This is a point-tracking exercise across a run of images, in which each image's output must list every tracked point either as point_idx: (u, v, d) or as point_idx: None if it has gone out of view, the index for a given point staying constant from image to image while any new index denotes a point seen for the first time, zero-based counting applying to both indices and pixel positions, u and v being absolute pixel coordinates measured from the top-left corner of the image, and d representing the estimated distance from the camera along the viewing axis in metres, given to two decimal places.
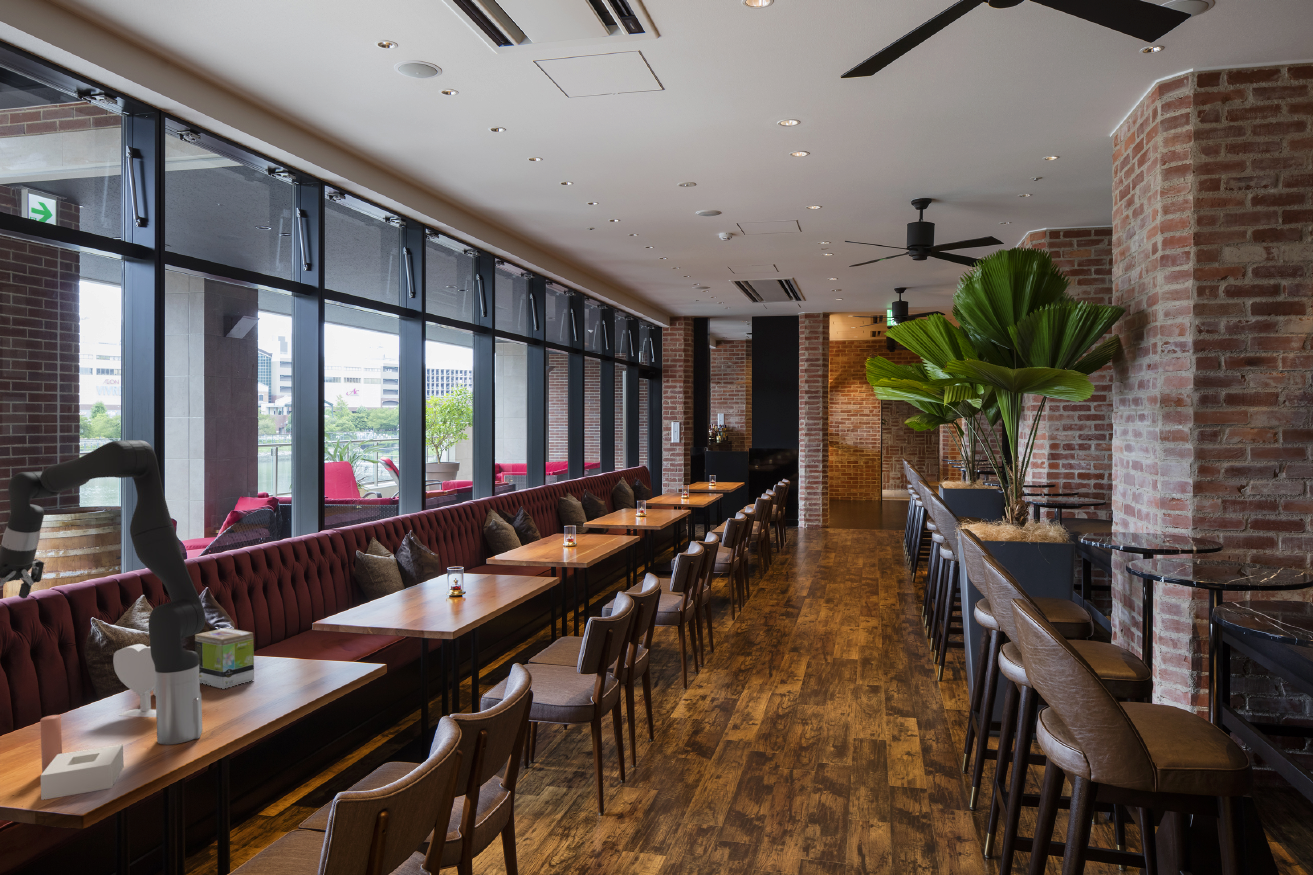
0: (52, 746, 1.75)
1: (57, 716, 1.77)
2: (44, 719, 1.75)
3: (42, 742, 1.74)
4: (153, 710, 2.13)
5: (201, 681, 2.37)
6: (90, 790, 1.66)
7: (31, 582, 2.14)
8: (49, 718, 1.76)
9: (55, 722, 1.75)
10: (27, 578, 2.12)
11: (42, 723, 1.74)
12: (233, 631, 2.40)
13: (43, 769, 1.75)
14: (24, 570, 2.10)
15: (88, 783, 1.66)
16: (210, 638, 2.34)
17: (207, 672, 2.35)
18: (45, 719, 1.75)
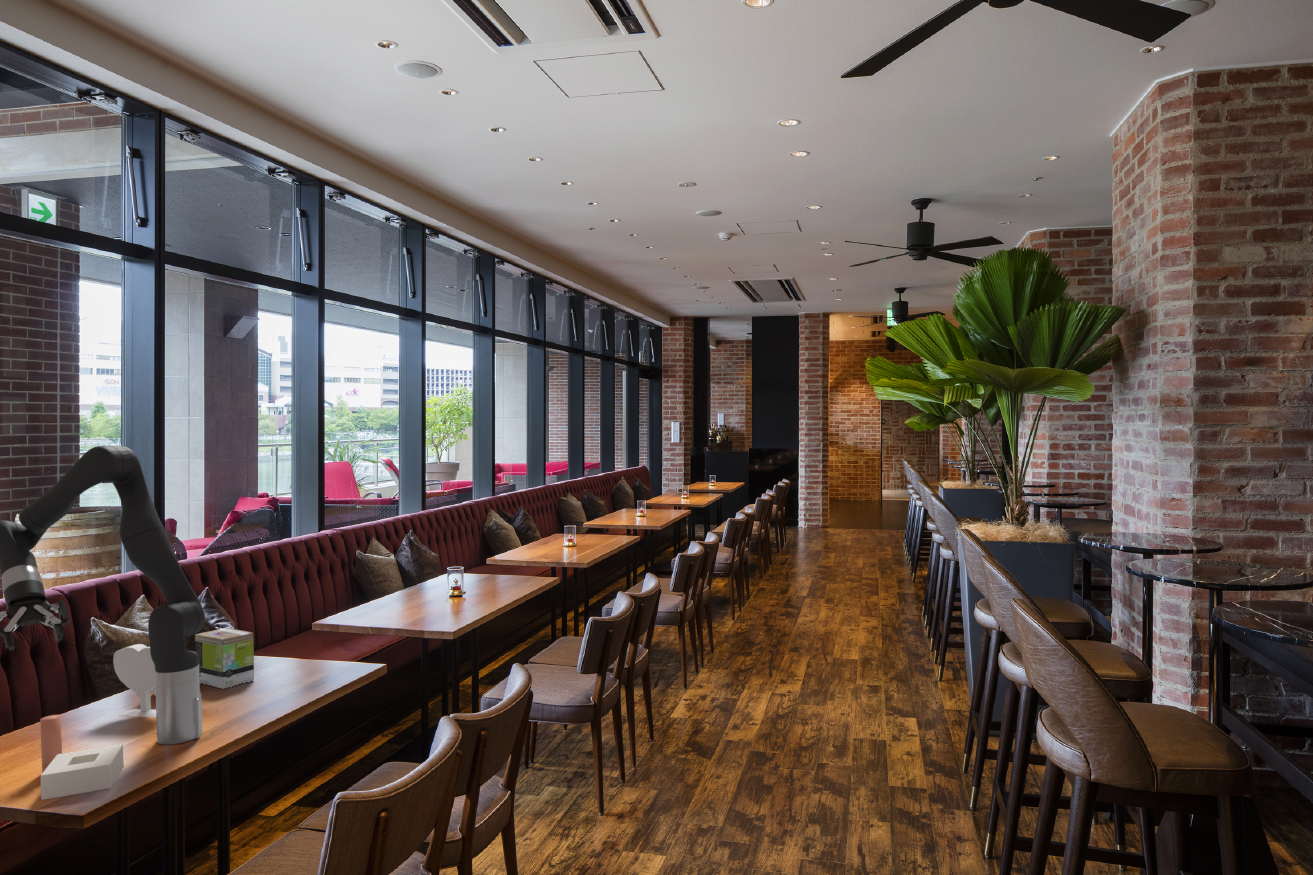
0: (52, 746, 1.75)
1: (57, 716, 1.77)
2: (44, 719, 1.75)
3: (42, 742, 1.74)
4: (153, 710, 2.13)
5: (201, 681, 2.37)
6: (90, 790, 1.66)
7: (57, 620, 1.89)
8: (49, 718, 1.76)
9: (55, 722, 1.75)
10: (47, 614, 1.88)
11: (42, 723, 1.74)
12: (233, 631, 2.41)
13: (43, 769, 1.75)
14: (37, 605, 1.88)
15: (88, 783, 1.66)
16: (210, 638, 2.34)
17: (207, 672, 2.35)
18: (45, 719, 1.75)
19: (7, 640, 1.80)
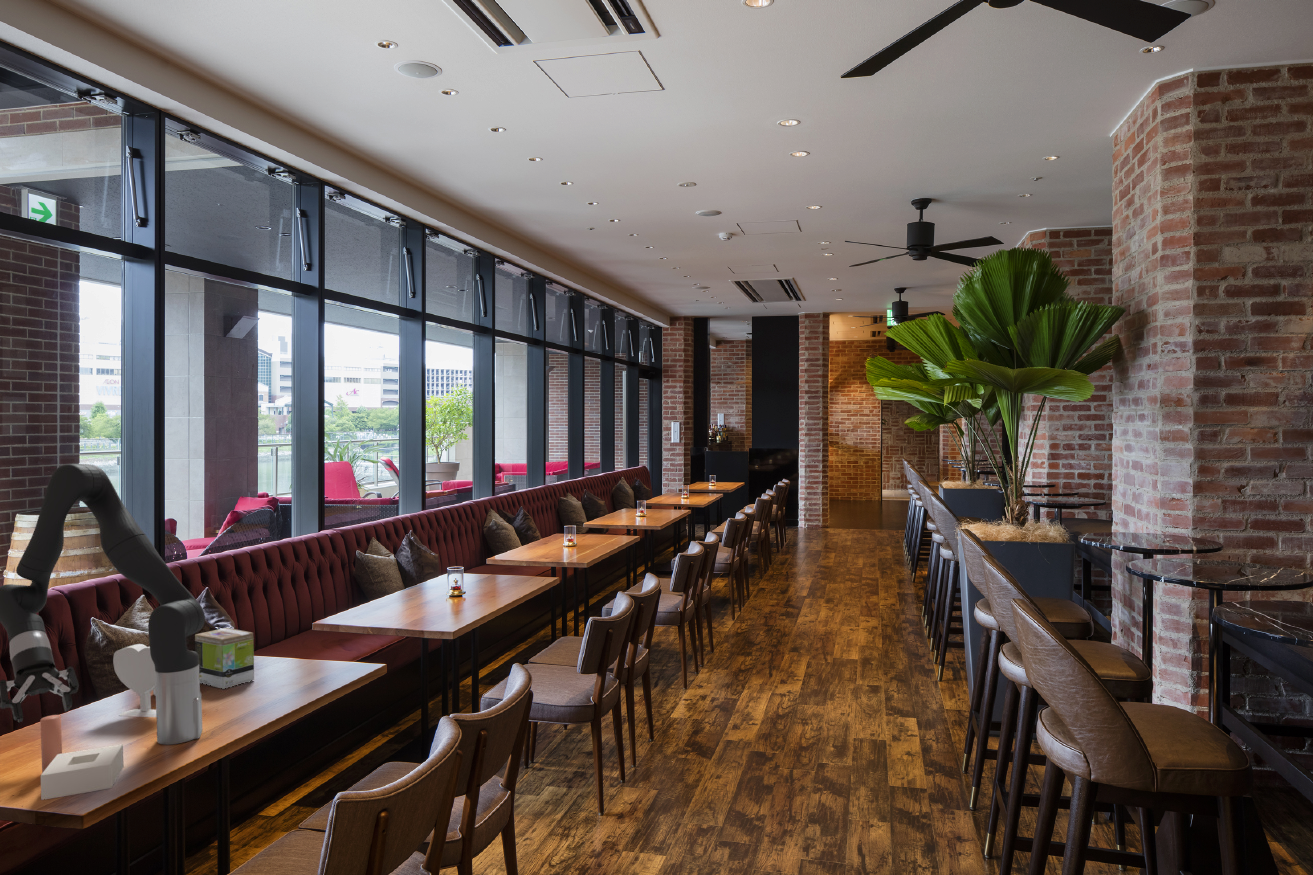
0: (52, 746, 1.75)
1: (57, 716, 1.77)
2: (44, 719, 1.75)
3: (42, 742, 1.74)
4: (153, 710, 2.13)
5: (201, 681, 2.37)
6: (90, 790, 1.66)
7: (66, 688, 1.85)
8: (49, 718, 1.76)
9: (55, 722, 1.75)
10: (56, 682, 1.84)
11: (42, 723, 1.74)
12: (233, 631, 2.41)
13: (43, 769, 1.75)
14: (46, 674, 1.84)
15: (88, 783, 1.66)
16: (210, 638, 2.34)
17: (207, 672, 2.35)
18: (45, 719, 1.75)
19: (15, 712, 1.77)
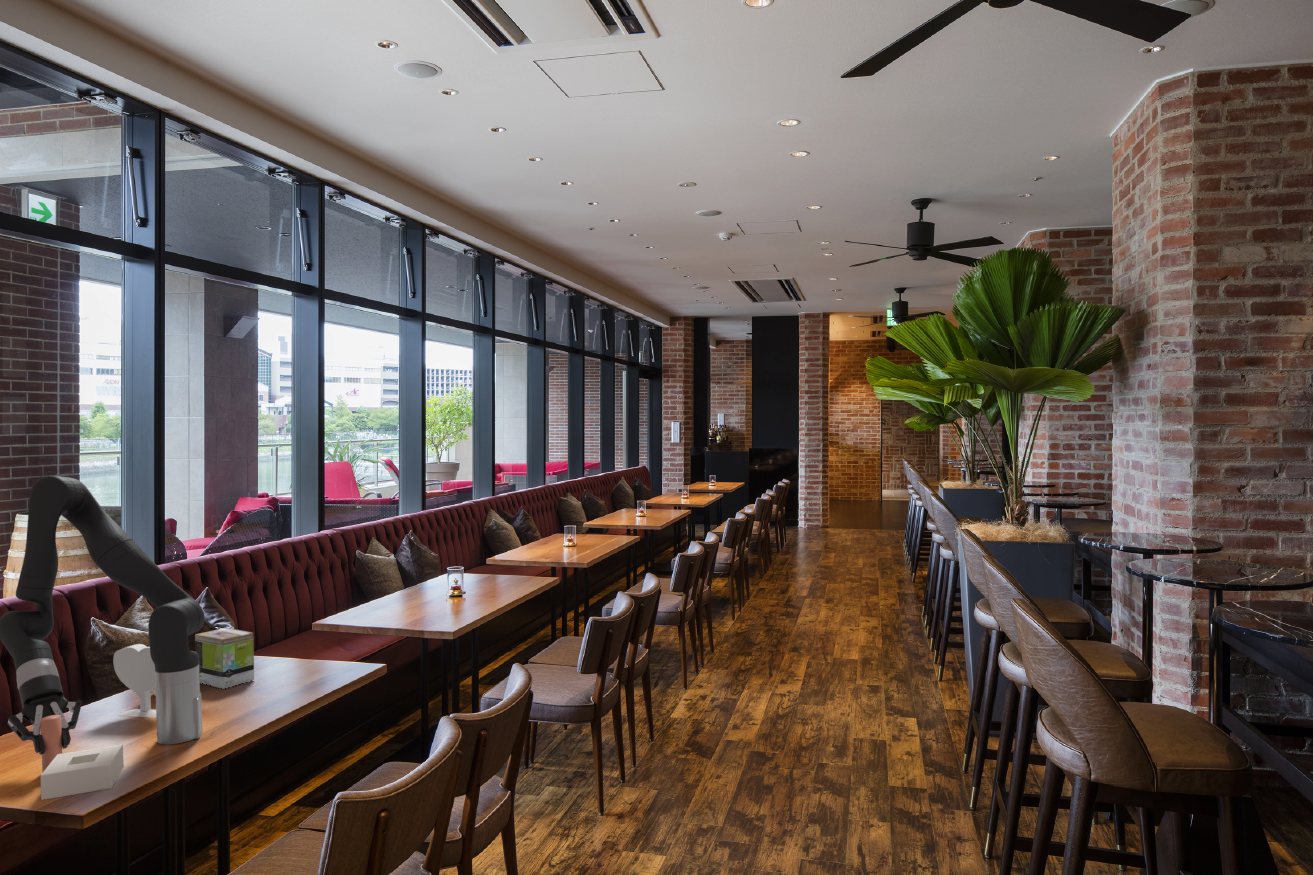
0: (53, 746, 1.75)
1: (57, 716, 1.77)
2: (44, 719, 1.75)
3: None
4: (153, 710, 2.13)
5: (201, 681, 2.37)
6: (90, 790, 1.66)
7: (64, 724, 1.78)
8: (49, 718, 1.76)
9: (55, 722, 1.75)
10: None
11: (42, 723, 1.74)
12: (233, 631, 2.41)
13: (43, 769, 1.75)
14: (54, 703, 1.80)
15: (88, 783, 1.66)
16: (210, 638, 2.34)
17: (207, 672, 2.35)
18: (45, 719, 1.75)
19: (37, 744, 1.73)
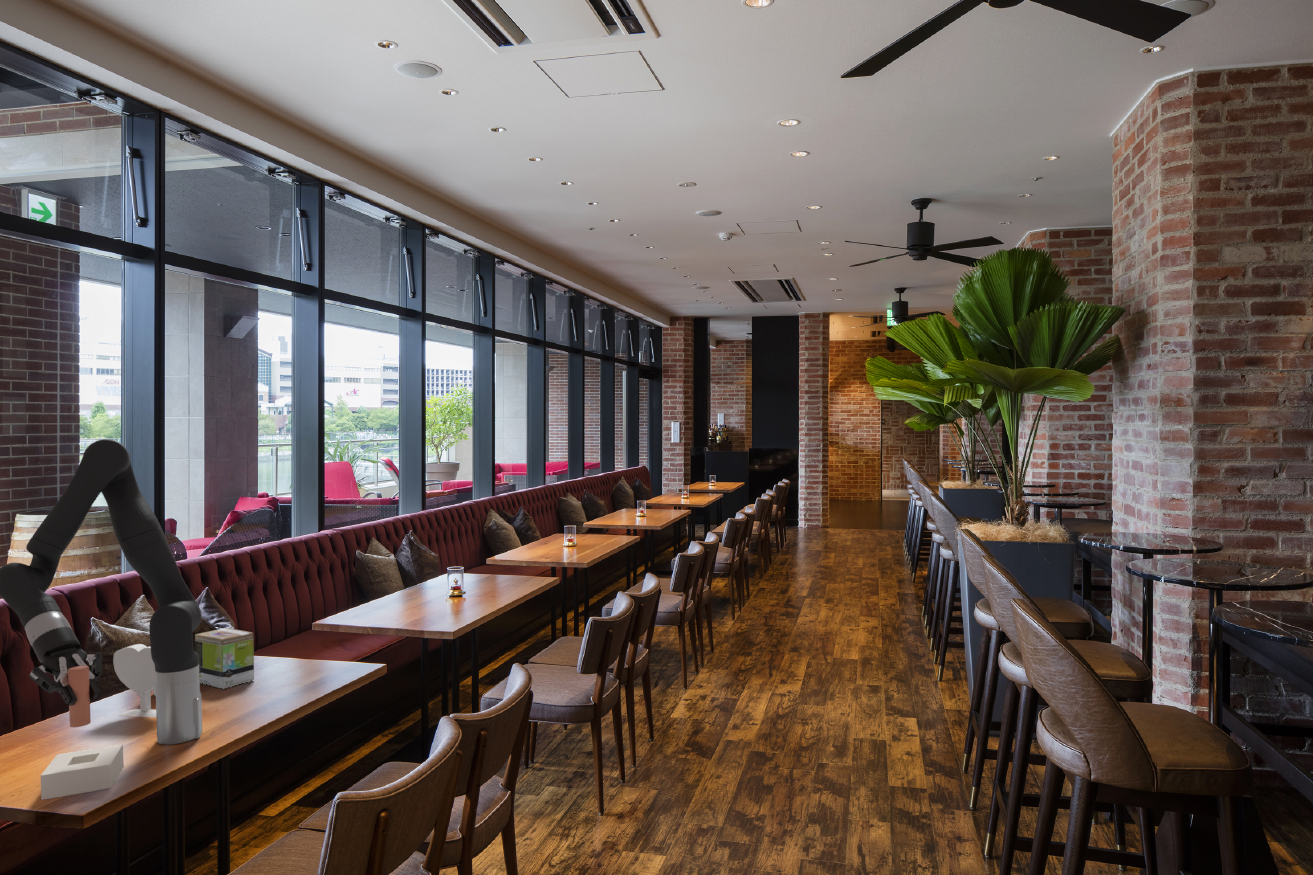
0: (83, 696, 1.69)
1: (85, 666, 1.71)
2: (72, 669, 1.69)
3: None
4: (153, 710, 2.13)
5: (201, 681, 2.37)
6: (90, 790, 1.66)
7: (90, 675, 1.73)
8: (77, 668, 1.70)
9: (85, 672, 1.70)
10: None
11: (71, 673, 1.68)
12: (233, 631, 2.41)
13: (72, 721, 1.68)
14: (76, 655, 1.73)
15: (88, 783, 1.66)
16: (210, 638, 2.34)
17: (207, 672, 2.35)
18: (74, 669, 1.69)
19: (67, 695, 1.67)
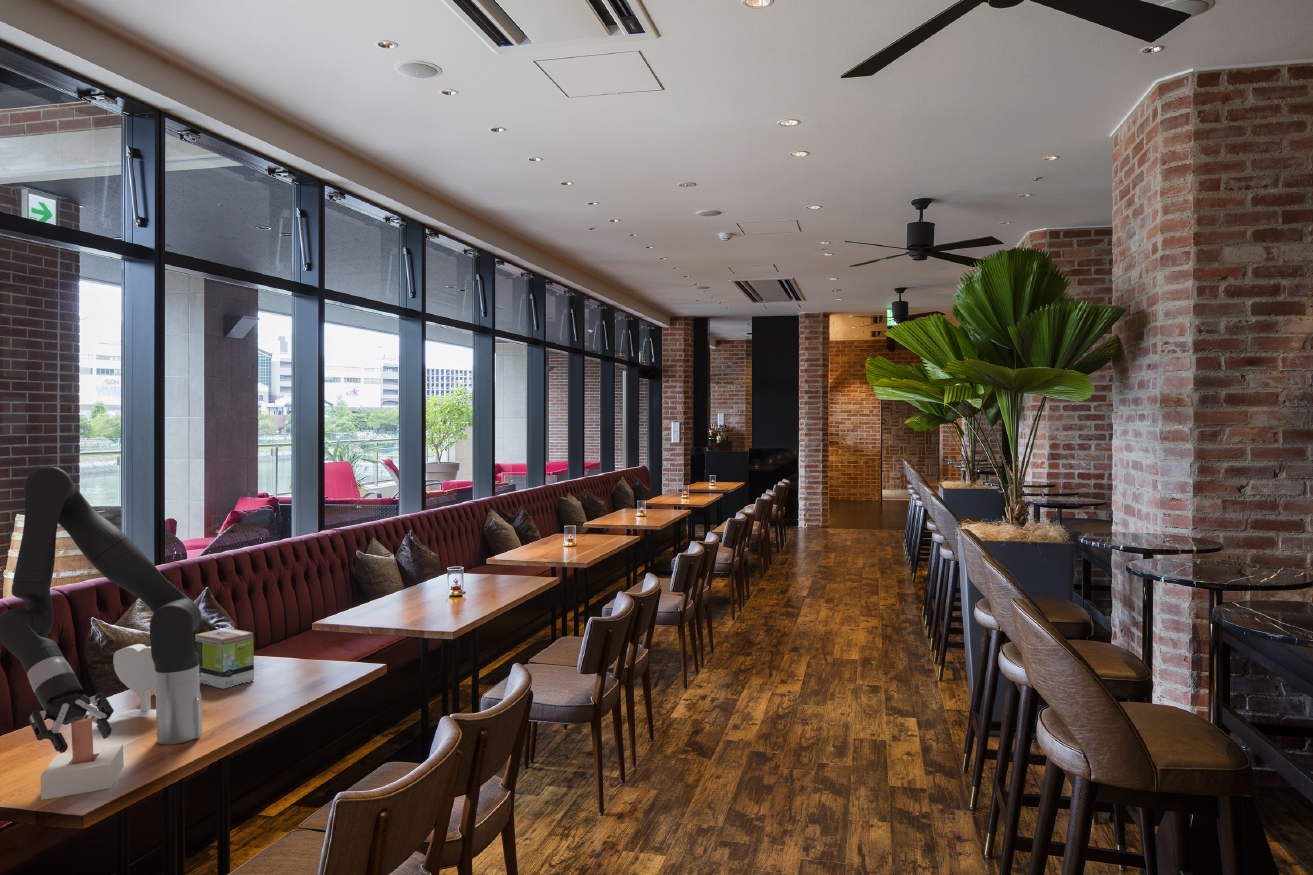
0: (86, 749, 1.69)
1: (88, 719, 1.71)
2: (76, 722, 1.69)
3: (75, 746, 1.69)
4: (153, 710, 2.13)
5: (201, 681, 2.37)
6: (90, 790, 1.66)
7: (102, 714, 1.75)
8: (81, 721, 1.70)
9: (88, 725, 1.70)
10: (91, 709, 1.74)
11: (75, 726, 1.69)
12: (233, 631, 2.41)
13: None
14: (79, 700, 1.73)
15: (88, 783, 1.66)
16: (210, 638, 2.34)
17: (207, 672, 2.35)
18: (77, 722, 1.69)
19: (58, 742, 1.65)
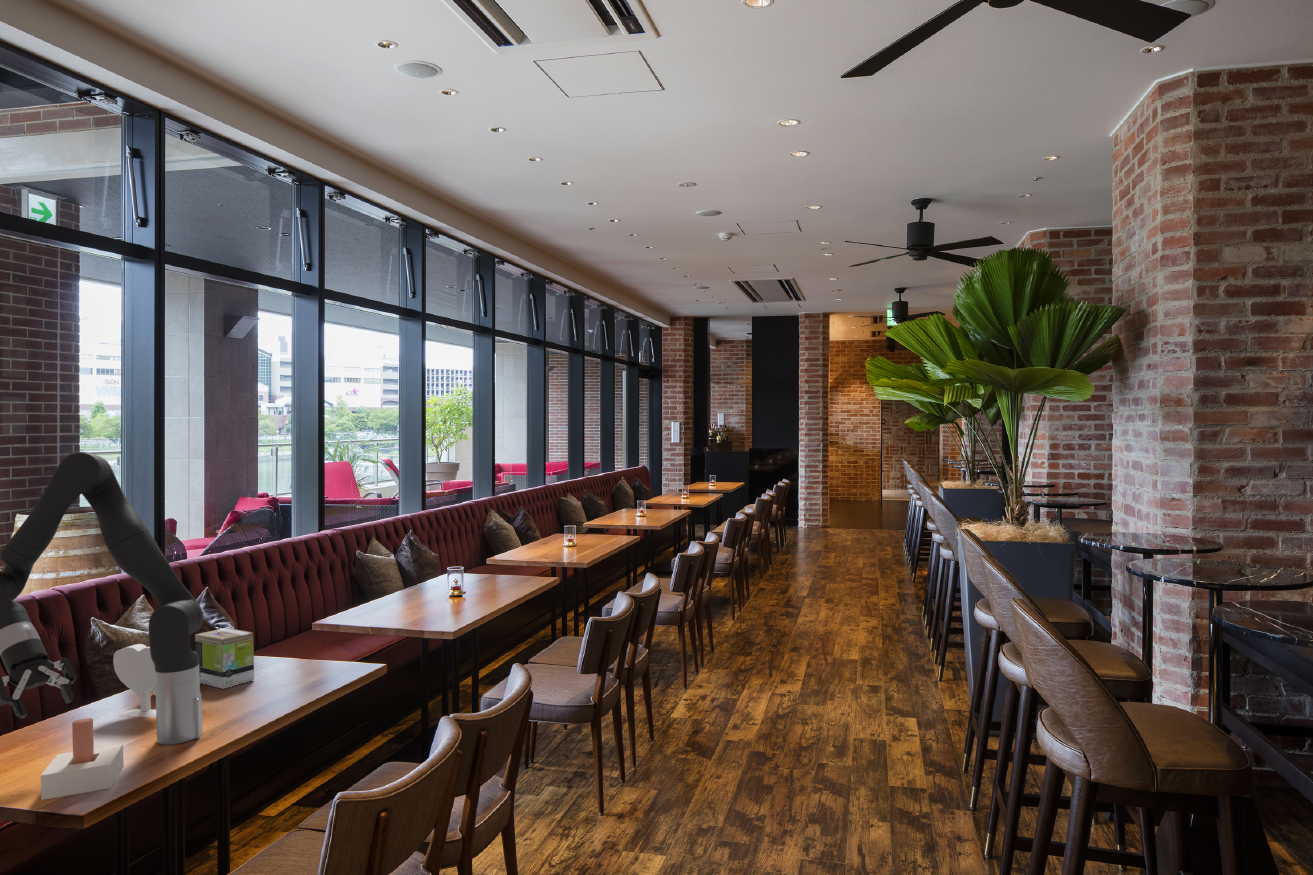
0: (87, 750, 1.69)
1: (89, 719, 1.71)
2: (77, 723, 1.69)
3: (76, 746, 1.68)
4: (153, 710, 2.13)
5: (201, 681, 2.37)
6: (90, 790, 1.66)
7: (65, 680, 1.81)
8: (82, 721, 1.70)
9: (89, 725, 1.70)
10: (54, 675, 1.79)
11: (76, 727, 1.68)
12: (233, 631, 2.40)
13: None
14: (41, 667, 1.79)
15: (88, 783, 1.66)
16: (210, 638, 2.34)
17: (207, 672, 2.35)
18: (78, 723, 1.69)
19: (18, 709, 1.72)
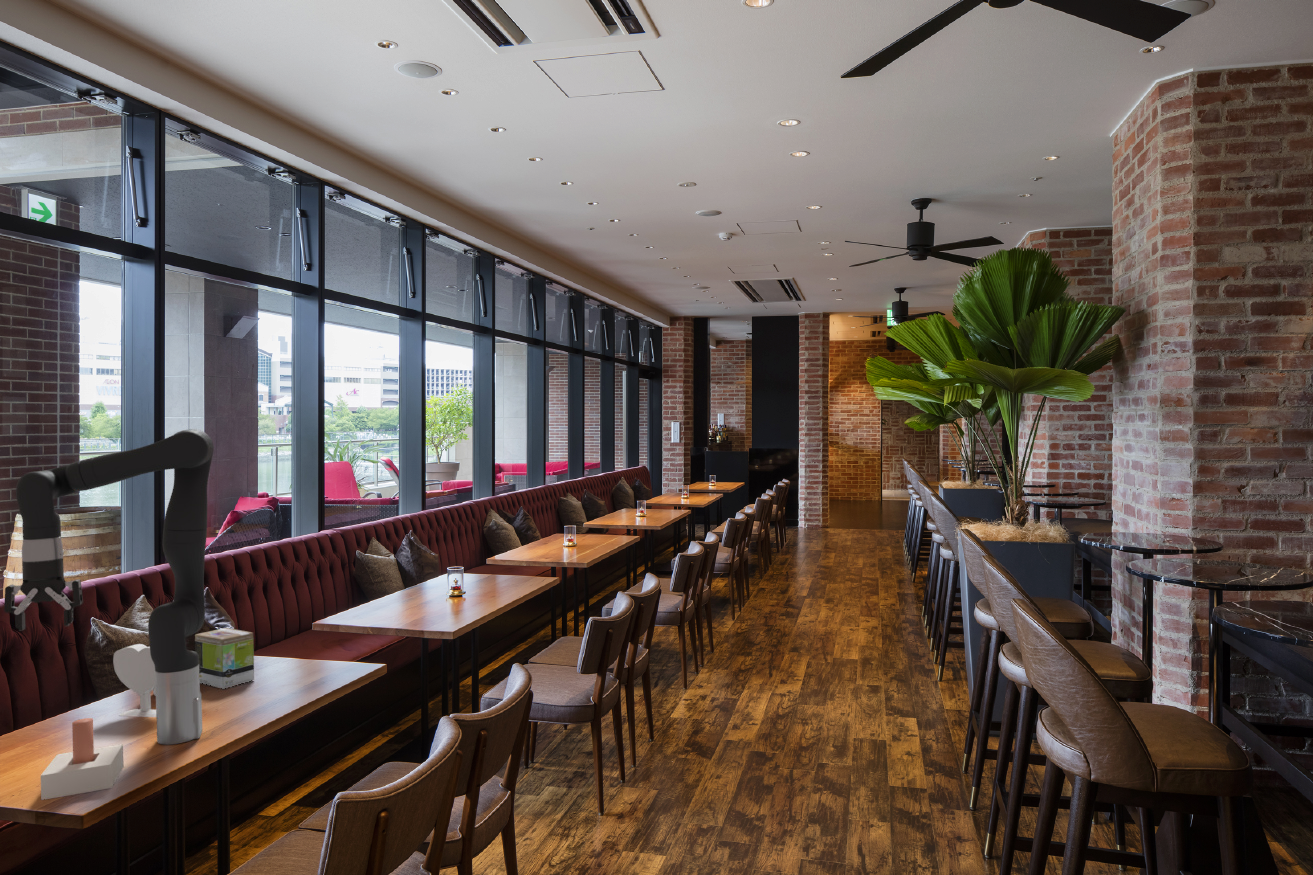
0: (87, 750, 1.69)
1: (89, 719, 1.71)
2: (77, 723, 1.69)
3: (76, 746, 1.68)
4: (153, 710, 2.13)
5: (201, 681, 2.37)
6: (90, 790, 1.66)
7: (67, 605, 1.85)
8: (82, 721, 1.70)
9: (89, 725, 1.70)
10: (57, 599, 1.83)
11: (76, 727, 1.68)
12: (233, 631, 2.41)
13: None
14: (48, 588, 1.83)
15: (88, 783, 1.66)
16: (210, 638, 2.34)
17: (207, 672, 2.35)
18: (78, 722, 1.69)
19: (16, 623, 1.81)
